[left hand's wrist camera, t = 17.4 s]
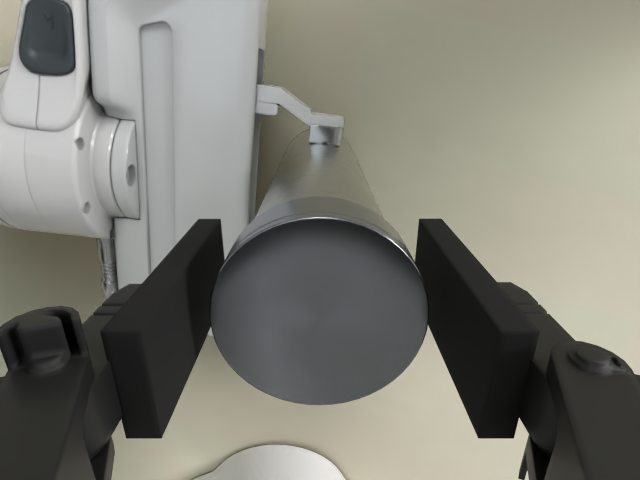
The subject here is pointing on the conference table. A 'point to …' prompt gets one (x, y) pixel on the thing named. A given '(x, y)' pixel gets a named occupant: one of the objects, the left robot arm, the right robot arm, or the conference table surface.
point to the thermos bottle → (319, 175)
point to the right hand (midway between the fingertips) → (334, 187)
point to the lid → (319, 302)
